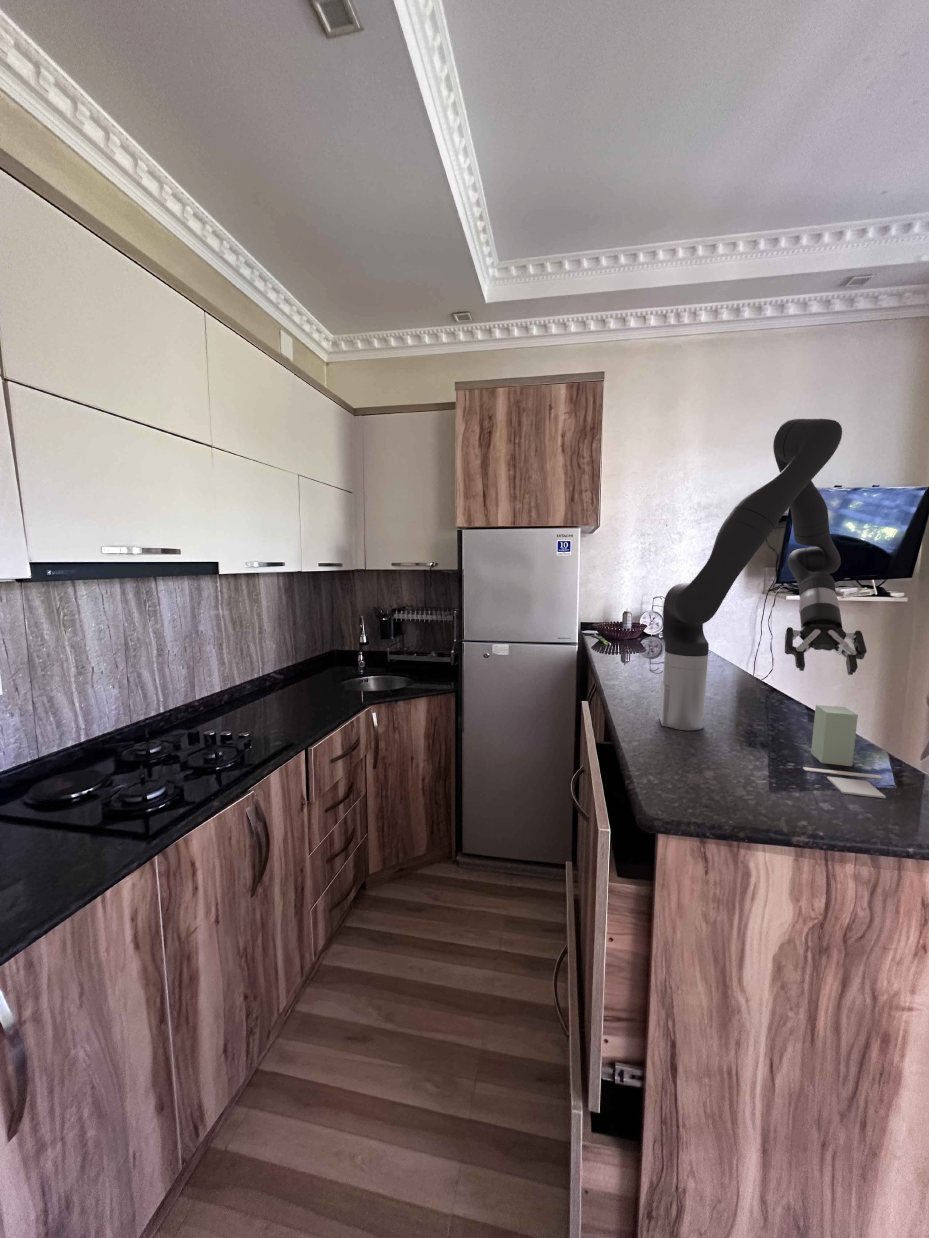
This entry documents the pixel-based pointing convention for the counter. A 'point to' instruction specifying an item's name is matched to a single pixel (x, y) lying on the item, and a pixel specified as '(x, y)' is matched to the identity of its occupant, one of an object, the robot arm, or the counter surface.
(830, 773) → the pale grey thin rod
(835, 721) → the sage block
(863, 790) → the mat
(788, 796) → the counter surface
